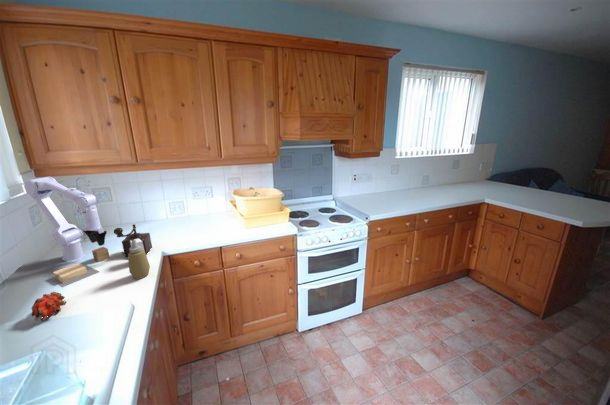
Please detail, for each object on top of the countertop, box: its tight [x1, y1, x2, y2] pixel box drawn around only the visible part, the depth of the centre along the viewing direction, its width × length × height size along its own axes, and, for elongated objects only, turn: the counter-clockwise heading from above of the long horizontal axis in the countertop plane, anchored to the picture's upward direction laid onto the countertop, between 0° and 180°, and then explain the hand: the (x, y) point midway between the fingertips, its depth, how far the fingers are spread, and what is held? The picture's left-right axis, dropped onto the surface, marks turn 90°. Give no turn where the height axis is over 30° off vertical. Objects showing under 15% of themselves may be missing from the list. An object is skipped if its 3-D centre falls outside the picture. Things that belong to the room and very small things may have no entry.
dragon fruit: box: [31, 291, 67, 321], centre depth 95 cm, size 8×8×12 cm
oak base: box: [52, 262, 88, 283], centre depth 120 cm, size 9×9×3 cm
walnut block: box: [91, 246, 111, 263], centre depth 135 cm, size 5×5×6 cm
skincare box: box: [130, 238, 144, 250], centre depth 131 cm, size 6×4×12 cm
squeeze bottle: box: [127, 240, 151, 280], centre depth 118 cm, size 8×8×18 cm
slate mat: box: [46, 262, 100, 288], centre depth 121 cm, size 18×14×1 cm
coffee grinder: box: [113, 224, 153, 258], centre depth 138 cm, size 16×11×18 cm
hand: (98, 243), depth 133 cm, fingers open, 7 cm apart
